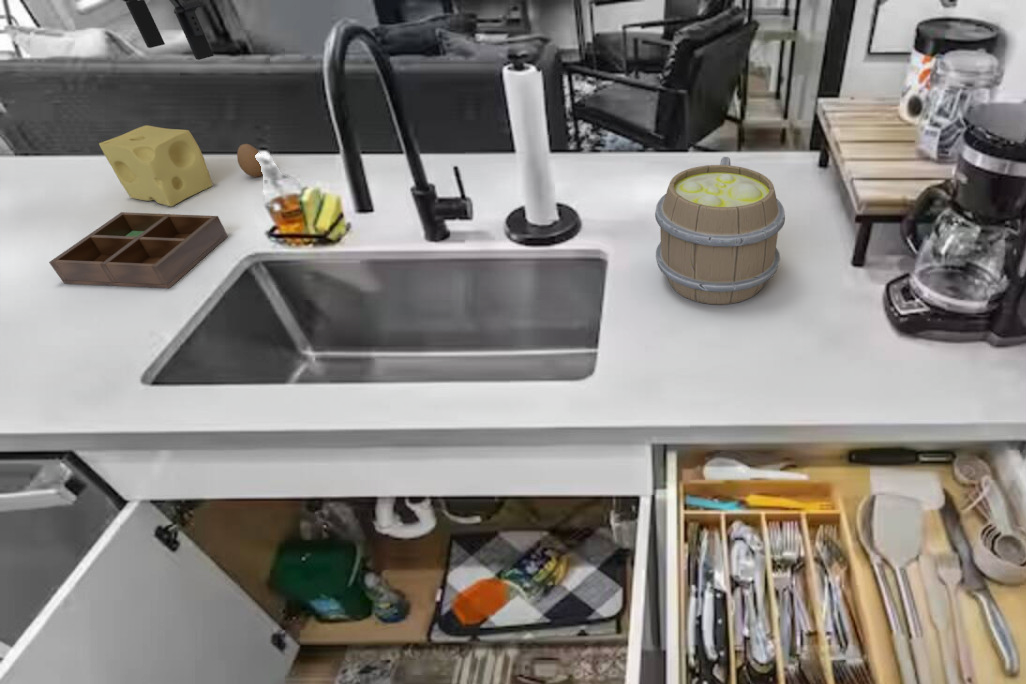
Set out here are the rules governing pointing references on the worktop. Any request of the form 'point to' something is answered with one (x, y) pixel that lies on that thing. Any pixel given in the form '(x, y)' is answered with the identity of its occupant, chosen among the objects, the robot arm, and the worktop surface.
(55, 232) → the worktop surface
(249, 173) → the egg
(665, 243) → the mug
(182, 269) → the grid
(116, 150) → the cheese
